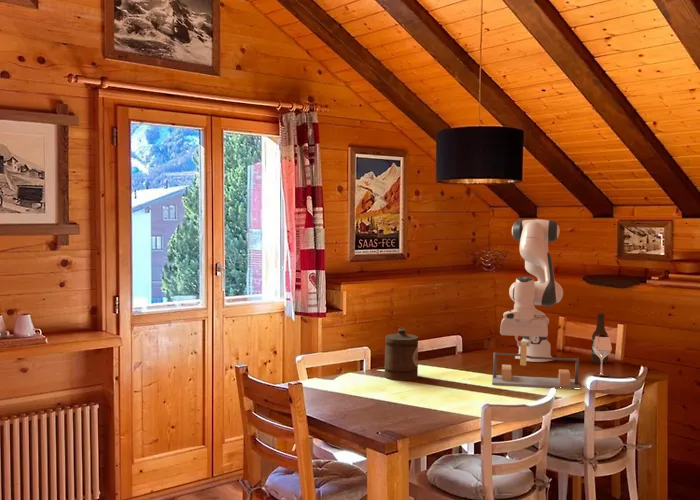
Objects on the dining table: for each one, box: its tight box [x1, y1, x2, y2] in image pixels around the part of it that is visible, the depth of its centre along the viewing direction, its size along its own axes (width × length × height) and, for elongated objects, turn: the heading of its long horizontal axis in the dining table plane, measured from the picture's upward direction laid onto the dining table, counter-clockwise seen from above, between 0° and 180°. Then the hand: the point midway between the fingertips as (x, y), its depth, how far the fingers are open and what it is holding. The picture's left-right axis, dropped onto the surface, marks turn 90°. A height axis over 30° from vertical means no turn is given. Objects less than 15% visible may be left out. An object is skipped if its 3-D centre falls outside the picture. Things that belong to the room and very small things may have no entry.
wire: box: [496, 352, 576, 362], centre depth 306 cm, size 5×34×1 cm, turn 78°
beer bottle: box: [590, 312, 609, 364], centre depth 347 cm, size 8×8×24 cm
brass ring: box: [519, 340, 527, 367], centre depth 307 cm, size 8×2×9 cm, turn 168°
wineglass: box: [591, 335, 613, 375], centre depth 320 cm, size 8×8×18 cm
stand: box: [491, 352, 581, 389], centre depth 306 cm, size 14×36×12 cm, turn 78°
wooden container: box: [384, 327, 419, 381], centre depth 317 cm, size 15×15×22 cm
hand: (523, 346), depth 307 cm, fingers closed on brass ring, 2 cm apart
